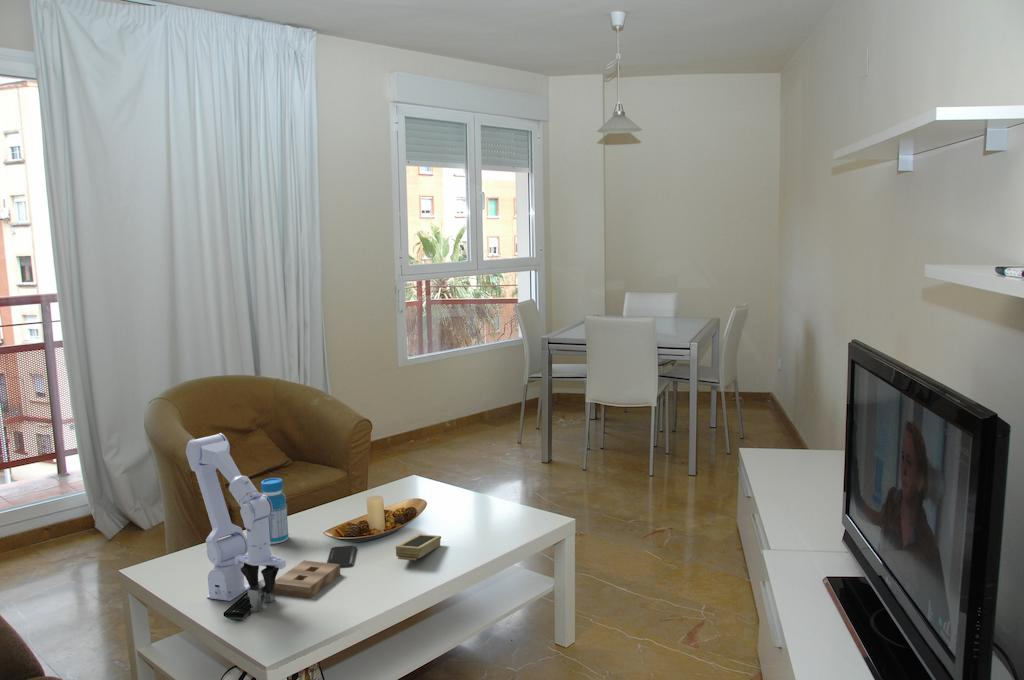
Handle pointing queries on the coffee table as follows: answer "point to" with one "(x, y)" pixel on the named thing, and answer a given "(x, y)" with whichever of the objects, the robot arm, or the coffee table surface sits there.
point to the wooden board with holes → (306, 578)
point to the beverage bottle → (276, 510)
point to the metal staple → (259, 595)
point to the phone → (342, 556)
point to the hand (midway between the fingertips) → (262, 591)
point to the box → (417, 546)
